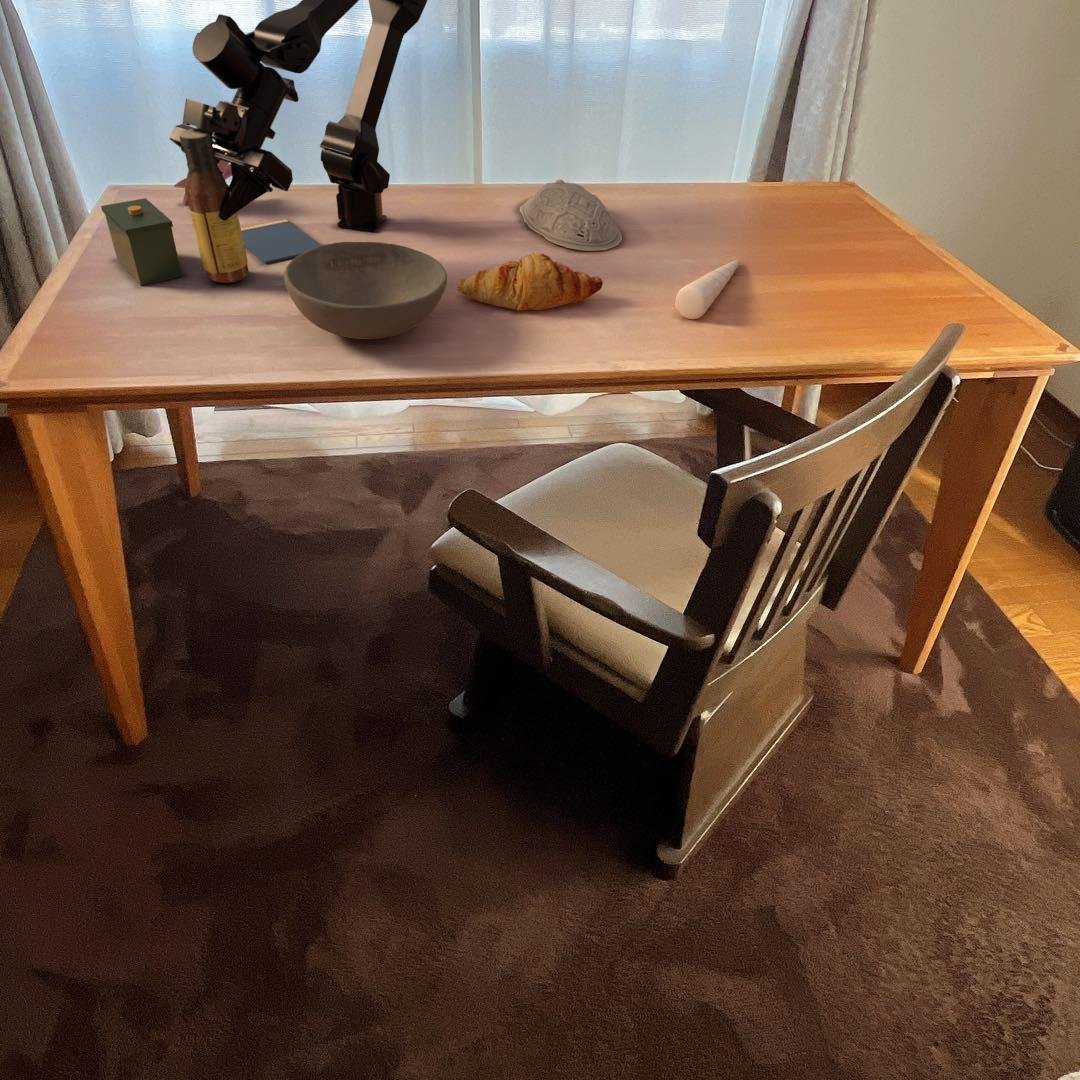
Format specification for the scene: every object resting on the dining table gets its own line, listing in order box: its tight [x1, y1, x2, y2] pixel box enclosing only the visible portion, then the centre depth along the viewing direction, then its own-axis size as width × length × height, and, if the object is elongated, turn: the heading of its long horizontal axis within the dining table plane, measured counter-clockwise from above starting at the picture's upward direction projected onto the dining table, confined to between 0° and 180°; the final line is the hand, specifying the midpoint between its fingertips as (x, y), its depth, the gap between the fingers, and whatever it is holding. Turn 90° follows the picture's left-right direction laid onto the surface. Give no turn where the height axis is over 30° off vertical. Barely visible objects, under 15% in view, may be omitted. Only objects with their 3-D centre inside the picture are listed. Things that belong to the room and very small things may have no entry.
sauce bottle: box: [179, 128, 250, 284], centre depth 121 cm, size 7×6×20 cm
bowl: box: [283, 241, 448, 340], centre depth 117 cm, size 21×21×8 cm
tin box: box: [100, 198, 183, 286], centre depth 126 cm, size 6×10×9 cm, turn 38°
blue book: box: [240, 218, 321, 265], centre depth 139 cm, size 10×14×1 cm
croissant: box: [456, 252, 604, 311], centre depth 126 cm, size 21×10×8 cm, turn 97°
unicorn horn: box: [674, 259, 740, 320], centre depth 132 cm, size 5×24×5 cm, turn 149°
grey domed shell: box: [519, 178, 623, 252], centre depth 150 cm, size 16×25×7 cm, turn 19°
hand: (205, 213), depth 121 cm, fingers closed on sauce bottle, 6 cm apart
